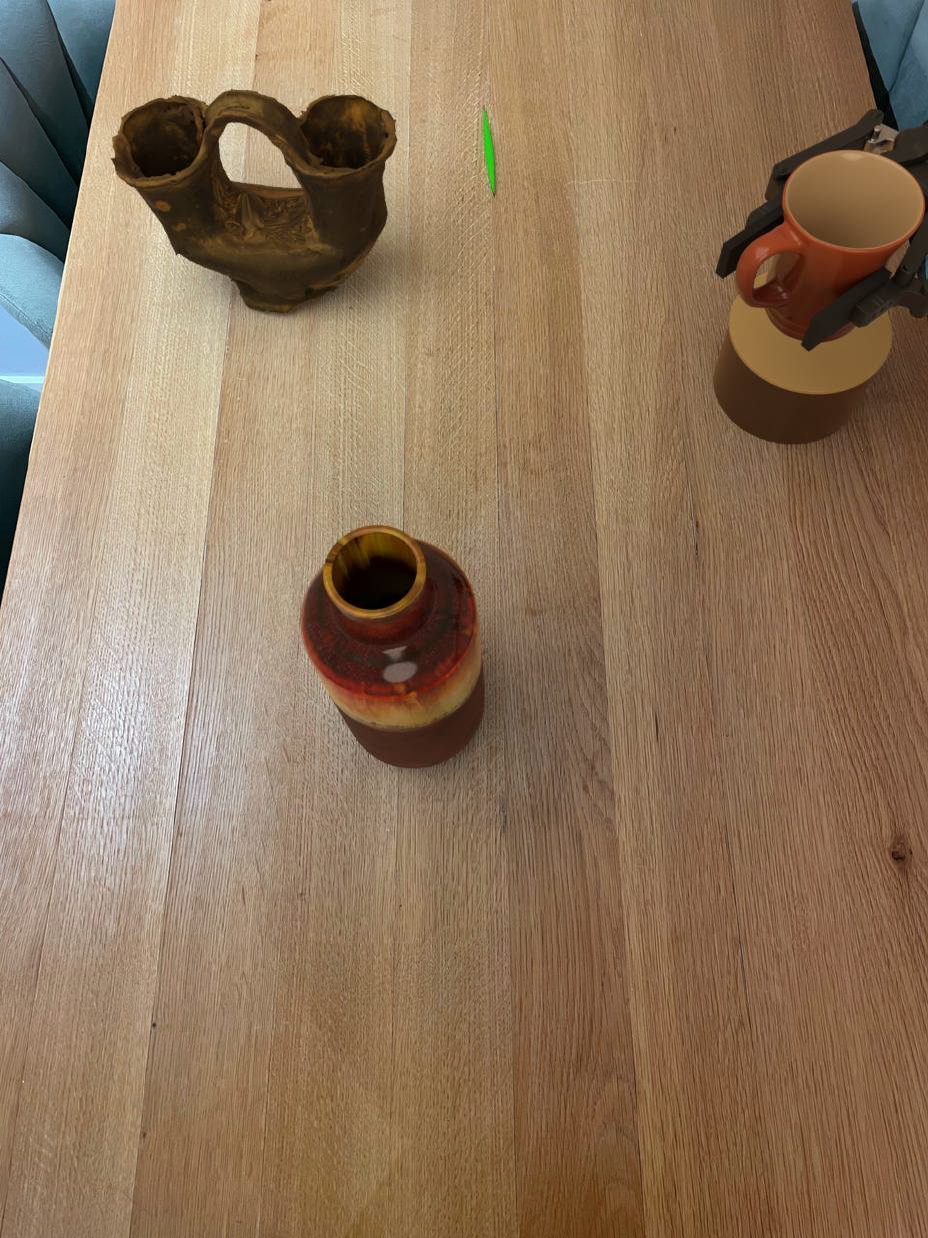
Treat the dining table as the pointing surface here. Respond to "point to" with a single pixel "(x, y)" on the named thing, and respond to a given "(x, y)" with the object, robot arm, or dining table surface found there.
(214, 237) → the pottery vessel
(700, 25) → the dining table surface
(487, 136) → the leaf
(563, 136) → the dining table surface
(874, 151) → the robot arm
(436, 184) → the dining table surface
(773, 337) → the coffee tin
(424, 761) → the vase
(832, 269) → the mug
